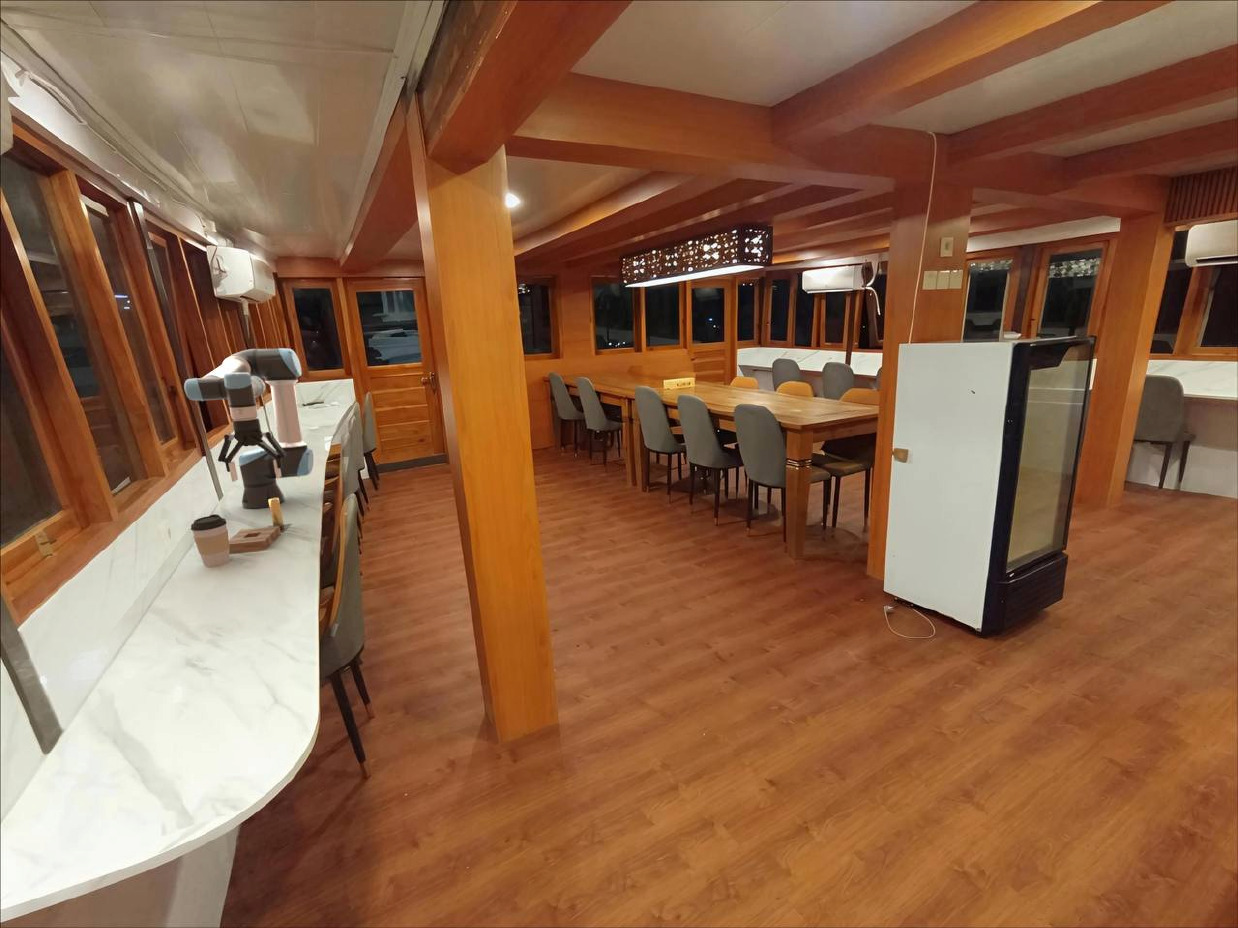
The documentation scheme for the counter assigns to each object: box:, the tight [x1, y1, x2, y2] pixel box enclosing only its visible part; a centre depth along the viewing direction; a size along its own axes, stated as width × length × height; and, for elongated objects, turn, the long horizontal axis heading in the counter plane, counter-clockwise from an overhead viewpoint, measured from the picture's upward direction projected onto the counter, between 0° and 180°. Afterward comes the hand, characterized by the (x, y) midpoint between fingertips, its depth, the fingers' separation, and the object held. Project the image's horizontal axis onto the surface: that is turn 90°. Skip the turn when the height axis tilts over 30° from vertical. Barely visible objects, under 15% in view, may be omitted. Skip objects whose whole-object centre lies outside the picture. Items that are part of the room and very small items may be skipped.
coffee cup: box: [190, 513, 231, 568], centre depth 167 cm, size 9×9×15 cm
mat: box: [267, 523, 292, 534], centre depth 195 cm, size 10×8×1 cm
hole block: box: [229, 526, 282, 554], centre depth 182 cm, size 14×12×4 cm
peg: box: [268, 498, 285, 531], centre depth 193 cm, size 3×3×12 cm
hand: (257, 479), depth 184 cm, fingers open, 13 cm apart
